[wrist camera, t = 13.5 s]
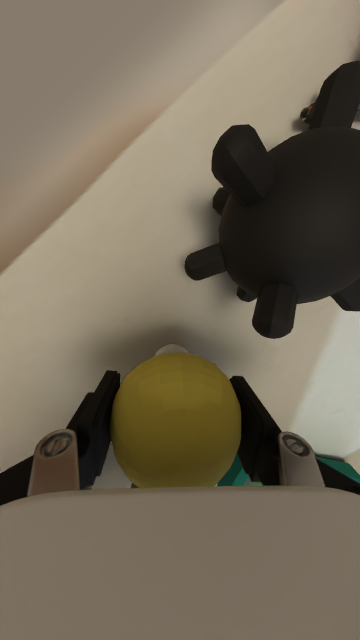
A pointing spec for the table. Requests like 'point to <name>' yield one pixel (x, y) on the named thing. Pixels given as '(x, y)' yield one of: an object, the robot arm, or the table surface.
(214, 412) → the yellow light bulb
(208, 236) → the table surface
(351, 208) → the toy ball
